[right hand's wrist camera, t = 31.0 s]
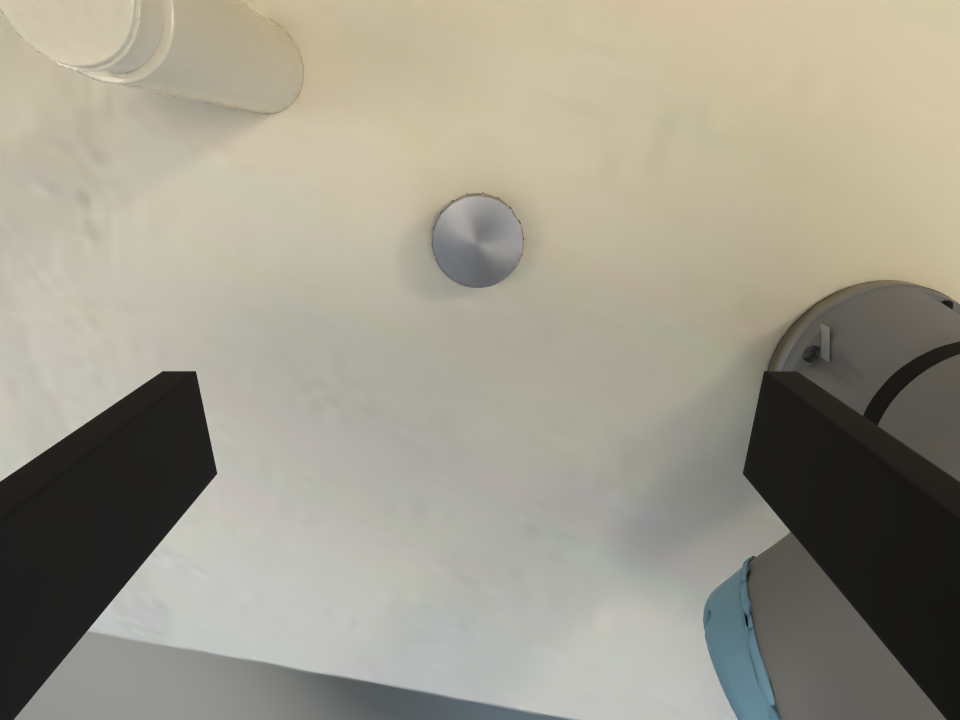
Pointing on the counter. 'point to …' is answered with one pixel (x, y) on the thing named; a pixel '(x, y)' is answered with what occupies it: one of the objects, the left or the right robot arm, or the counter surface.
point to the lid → (477, 240)
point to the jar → (168, 47)
